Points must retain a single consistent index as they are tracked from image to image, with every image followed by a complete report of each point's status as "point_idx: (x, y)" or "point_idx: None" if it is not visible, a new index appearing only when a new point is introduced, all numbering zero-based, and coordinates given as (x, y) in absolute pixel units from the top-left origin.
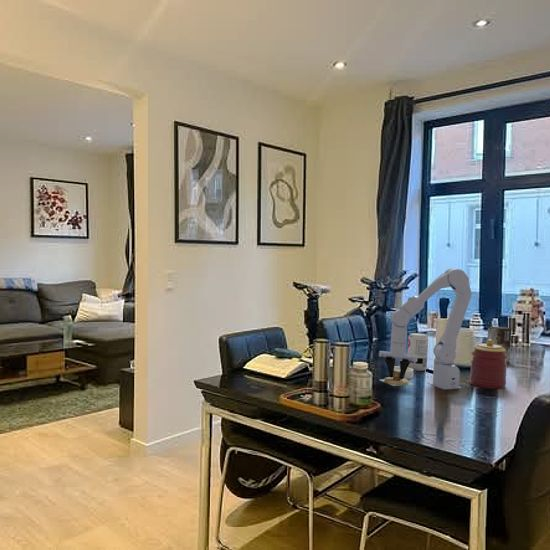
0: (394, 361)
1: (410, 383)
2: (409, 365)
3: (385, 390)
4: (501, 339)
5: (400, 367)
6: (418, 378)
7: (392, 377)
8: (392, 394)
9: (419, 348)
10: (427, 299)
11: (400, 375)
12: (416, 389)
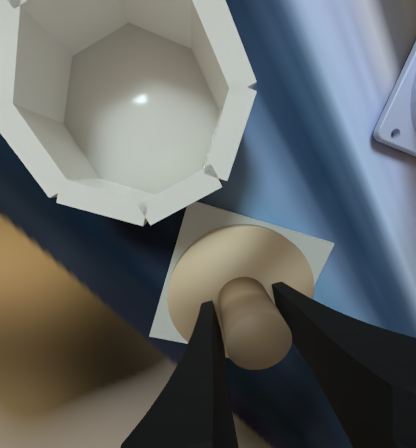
0: (219, 419)
1: (309, 250)
2: None
3: (286, 417)
4: None
5: (341, 418)
6: (247, 27)
7: (187, 274)
8: (335, 430)
9: None
10: None
11: (294, 338)
12: (371, 298)
